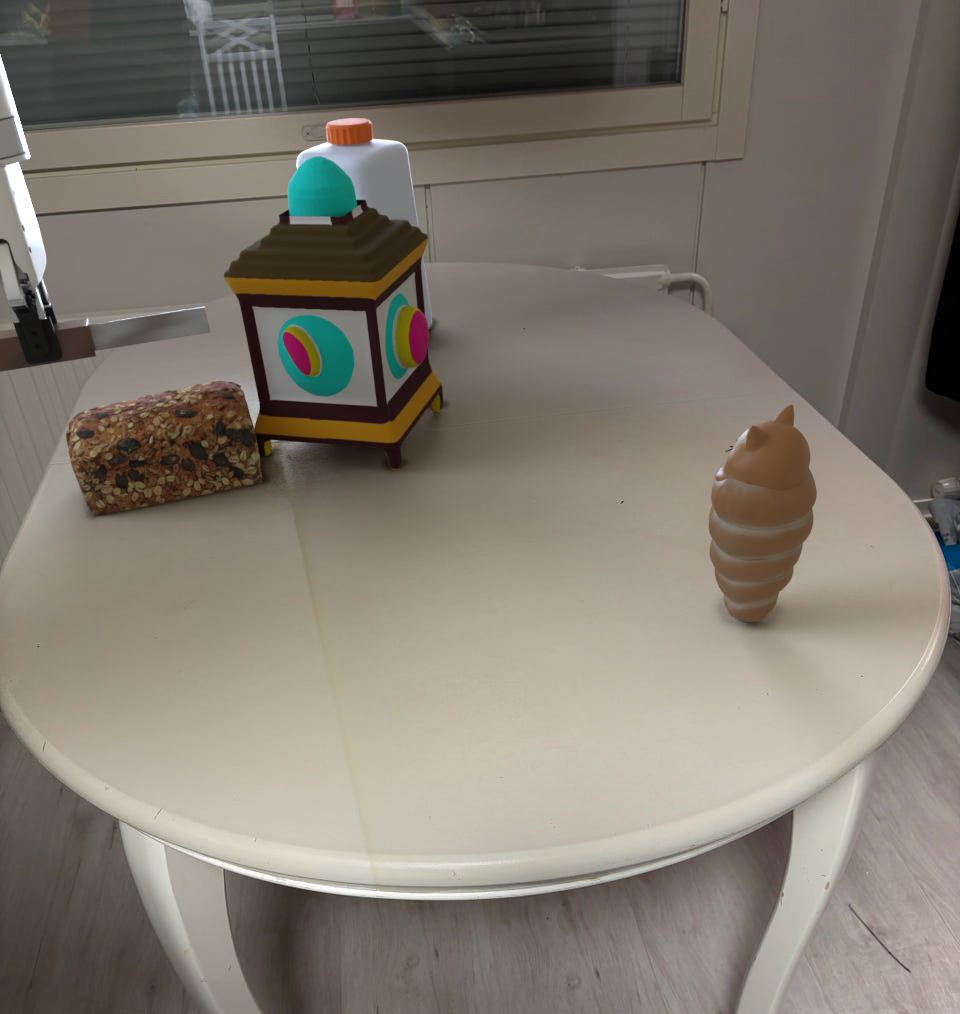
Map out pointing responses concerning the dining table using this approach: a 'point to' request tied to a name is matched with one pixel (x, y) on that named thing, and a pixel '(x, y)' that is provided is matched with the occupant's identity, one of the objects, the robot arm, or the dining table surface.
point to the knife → (107, 335)
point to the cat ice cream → (761, 515)
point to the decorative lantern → (336, 320)
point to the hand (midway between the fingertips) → (46, 354)
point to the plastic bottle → (373, 173)
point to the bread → (164, 447)
